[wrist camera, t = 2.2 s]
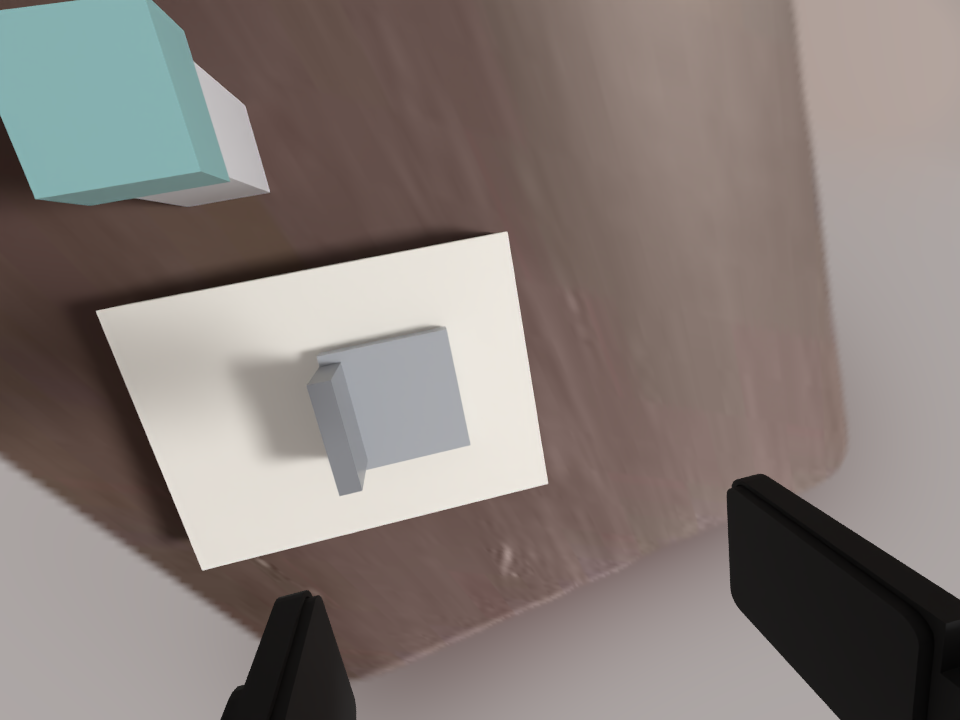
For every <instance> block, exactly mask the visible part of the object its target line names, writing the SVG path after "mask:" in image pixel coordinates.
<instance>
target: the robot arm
mask: <svg viewBox="0 0 960 720" xmlns="http://www.w3.org/2000/svg"><path fill="white" fill-rule="evenodd" d="M727 515H728V538H729V562H730V586H731V587H730V588H731V594H732V597H733V599H734V601H735V603H736V605H737V606H738V608H739V609H740V610H741V611H742V613H744V615H745V616H746V617H747V618H748V619H749V620H750V621H751V622H752V623H753V625H755V627H756V628H757V629H758V630H759V631H760V632H761V633H762V634H763V636H764V637H766V639H767V640H768V641H769V642H770V643H771V644H772V645H773V646H774V647H775V649H776V650H777V651H778V652H779V653H780V654H781V655H782V656H783V657H784V658H785V660H786V661H787V662H788V663H789V664H790V665H791V666H792V667H793V668H794V669H795V670H796V672H797V673H798V674H799V675H800V676H801V677H802V678H803V679H804V680H805V681H806V683H807V684H808V685H809V686H810V687H811V688H812V689H813V690H814V691H815V692H816V694H817V695H818V696H819V697H820V698H821V699H822V700H823V701H824V702H825V703H826V704H827V706H829V708H830V709H831V710H832V711H833V712H834V713H835V714H836V715H837V717H838V718H839V719H840V720H960V600H959V599H958V598H956V597H955V596H953V595H952V594H950V593H948V592H947V591H945V590H944V589H942V588H941V587H939V586H938V585H936V584H934V583H933V582H931V581H930V580H928V579H927V578H925V577H924V576H922V575H920V574H919V573H917V572H916V571H914V570H913V569H911V568H909V567H908V566H906V565H905V564H903V563H902V562H900V561H899V560H897V559H896V558H894V557H892V556H891V555H889V554H888V553H886V552H885V551H883V550H881V549H880V548H878V547H877V546H875V545H874V544H872V543H871V542H869V541H867V540H866V539H864V538H863V537H861V536H860V535H858V534H857V533H855V532H853V531H852V530H850V529H849V528H847V527H846V526H844V525H842V524H841V523H839V522H838V521H836V520H835V519H833V518H831V517H830V516H829V515H827V514H825V513H824V512H822V511H821V510H819V509H818V508H816V507H814V506H813V505H811V504H810V503H808V502H807V501H805V500H804V499H802V498H800V497H799V496H797V495H796V494H794V493H793V492H791V491H790V490H788V489H786V488H785V487H783V486H782V485H780V484H779V483H777V482H776V481H774V480H772V479H771V478H769V477H768V476H766V475H764V474H756V475H752V476H749V477H745V478H741V479H737V480H735V481H734V482H733V484H732V488H731V489H729V490H728V491H727ZM221 720H356V704H355V698H354V695H353V692H352V689H351V686H350V682H349V679H348V676H347V673H346V670H345V667H344V664H343V661H342V658H341V655H340V652H339V649H338V646H337V643H336V640H335V637H334V634H333V631H332V628H331V624H330V621H329V618H328V615H327V612H326V609H325V606H324V603H323V600H322V598H321V597H320V596H319V595H318V596H314V597H312V594H311V593H310V591H308V590H306V591H302V592H298V593H294V594H290V595H286V596H282V597H279V598H278V599H276V601H275V603H274V606H273V609H272V611H271V614H270V617H269V620H268V622H267V625H266V628H265V630H264V633H263V636H262V639H261V641H260V644H259V647H258V650H257V652H256V655H255V658H254V661H253V663H252V666H251V669H250V671H249V674H248V677H247V680H246V682H245V685H241V686H238V687H237V688H236V689H235V690H234V691H233V692H232V694H231V696H230V698H229V700H228V702H227V705H226V707H225V710H224V712H223V715H222V717H221Z"/></svg>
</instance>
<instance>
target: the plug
mask: <svg viewBox="0 0 960 720" xmlns="http://www.w3.org/2000/svg"><path fill="white" fill-rule="evenodd" d="M0 116H1V118H2V120H3V123H4V125H5V127H6V130H7V132H8V135H9V137H10V139H11V142H12V144H13V147H14V149H15V151H16V154H17V156H18V159H19V161H20V163H21V166H22V168H23V170H24V173H25V175H26V178H27V180H28V182H29V185H30V187H31V190H32V192H33V194H34V197H35V199H38V200H47V201H55V202H63V203H72V204H80V205H88V206H91V205H97V204H103V203H109V202H115V201H121V200H127V199H132V198H137V199H143V200H149V201H155V202H161V203H167V204H173V205H179V206H185V207H191V206H197V205H202V204H208V203H214V202H219V201H225V200H231V199H237V198H242V197H248V196H254V195H260V194H265V193H270V190H269V187H268V183H267V180H266V176H265V173H264V169H263V166H262V162H261V159H260V155H259V152H258V148H257V145H256V141H255V138H254V135H253V131H252V128H251V124H250V121H249V117H248V114H247V110H246V107H245V105H244V104H243V103H241V102H240V101H239V100H238V99H237V98H236V97H234V96H233V95H232V94H231V93H230V92H229V91H227V90H226V89H225V88H224V87H223V86H222V85H220V84H219V83H218V82H217V81H216V80H215V79H213V78H212V77H211V76H210V75H209V74H208V73H206V72H205V71H204V70H203V69H202V68H201V67H199V66H198V65H197V64H196V63H195V62H194V61H193V59H192V56H191V52H190V49H189V46H188V43H187V39H186V36H185V33H184V31H183V30H182V29H181V28H180V27H179V26H178V25H177V24H176V23H175V22H174V21H173V20H172V19H171V18H170V17H169V16H168V15H167V14H166V13H165V12H164V11H162V10H161V9H160V8H159V7H158V6H157V5H156V4H155V3H154V2H153V1H152V0H77V1H69V2H62V3H54V4H46V5H38V6H30V7H23V8H15V9H7V10H0Z"/></svg>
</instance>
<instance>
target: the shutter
mask: <svg viewBox="0 0 960 720" xmlns="http://www.w3.org/2000/svg"><path fill="white" fill-rule="evenodd" d="M317 360H318V364H319V368H318V370H317V371H316V372H315V374H314V375H313V377H312V378H311V379H310V381H309V382H308V384H307V385H306V386H307V390H308V393H309V396H310V400H311V403H312V406H313V410H314V413H315V416H316V420H317V423H318V426H319V430H320V433H321V436H322V440H323V443H324V446H325V450H326V453H327V456H328V460H329V463H330V466H331V470H332V473H333V476H334V480H335V483H336V486H337V490H338V493H339V496H343V495H347V494H351V493H355V492H360V491H362V490H363V484H364V479H365V473H366V470H369V469H373V468H377V467H381V466H385V465H390V464H394V463H398V462H402V461H406V460H411V459H415V458H419V457H423V456H427V455H431V454H436V453H440V452H444V451H448V450H452V449H457V448H461V447H465V446H469V445H470V440H469V435H468V430H467V425H466V420H465V416H464V411H463V406H462V401H461V396H460V391H459V387H458V382H457V377H456V372H455V367H454V363H453V358H452V353H451V348H450V343H449V338H448V334H447V329H446V327H445V326H444V327H440V328H435V329H430V330H425V331H421V332H416V333H411V334H406V335H402V336H397V337H392V338H387V339H383V340H378V341H373V342H369V343H364V344H359V345H354V346H350V347H345V348H340V349H335V350H331V351H326V352H321V353H319V354H318V355H317Z"/></svg>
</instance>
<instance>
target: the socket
mask: <svg viewBox="0 0 960 720" xmlns="http://www.w3.org/2000/svg"><path fill="white" fill-rule="evenodd" d="M96 313H97V316H98V318H99V320H100V323H101V325H102V328H103V330H104V333H105V335H106V338H107V340H108V342H109V345H110V347H111V350H112V352H113V355H114V357H115V359H116V362H117V364H118V367H119V369H120V372H121V374H122V376H123V379H124V381H125V384H126V386H127V389H128V391H129V393H130V396H131V398H132V401H133V403H134V406H135V408H136V410H137V413H138V415H139V418H140V420H141V423H142V425H143V428H144V430H145V432H146V435H147V437H148V440H149V442H150V445H151V447H152V449H153V452H154V454H155V457H156V459H157V462H158V464H159V466H160V469H161V471H162V474H163V476H164V479H165V481H166V483H167V486H168V488H169V491H170V493H171V496H172V498H173V500H174V503H175V505H176V508H177V510H178V513H179V515H180V518H181V520H182V522H183V525H184V527H185V530H186V532H187V535H188V537H189V539H190V542H191V544H192V547H193V549H194V552H195V554H196V556H197V559H198V561H199V564H200V566H201V569H202V570H206V569H210V568H214V567H218V566H222V565H226V564H230V563H234V562H238V561H242V560H246V559H250V558H254V557H258V556H262V555H266V554H270V553H274V552H278V551H282V550H286V549H290V548H294V547H298V546H302V545H306V544H310V543H314V542H318V541H322V540H326V539H330V538H334V537H338V536H342V535H346V534H350V533H354V532H358V531H362V530H366V529H370V528H373V527H377V526H381V525H385V524H389V523H393V522H397V521H401V520H405V519H409V518H413V517H417V516H421V515H425V514H429V513H433V512H437V511H441V510H445V509H449V508H453V507H457V506H461V505H465V504H469V503H473V502H477V501H481V500H485V499H489V498H493V497H497V496H501V495H505V494H509V493H513V492H517V491H521V490H525V489H529V488H533V487H537V486H541V485H545V484H548V480H547V474H546V468H545V462H544V455H543V449H542V443H541V437H540V431H539V424H538V418H537V412H536V406H535V400H534V394H533V387H532V381H531V375H530V369H529V363H528V356H527V350H526V344H525V338H524V332H523V326H522V319H521V313H520V307H519V301H518V295H517V288H516V282H515V276H514V270H513V264H512V258H511V251H510V245H509V239H508V233H507V232H500V233H493V234H488V235H483V236H478V237H473V238H467V239H462V240H457V241H452V242H447V243H441V244H436V245H431V246H426V247H421V248H415V249H410V250H405V251H400V252H395V253H389V254H384V255H379V256H374V257H369V258H363V259H358V260H353V261H348V262H343V263H337V264H332V265H327V266H322V267H317V268H311V269H306V270H301V271H296V272H291V273H285V274H280V275H275V276H270V277H265V278H259V279H254V280H249V281H244V282H239V283H233V284H228V285H223V286H218V287H213V288H207V289H202V290H197V291H192V292H187V293H181V294H176V295H171V296H166V297H161V298H155V299H150V300H145V301H140V302H135V303H130V304H125V305H121V306H116V307H111V308H107V309H102V310H98V311H96ZM444 326H445V327H446V329H447V334H448V338H449V343H450V348H451V353H452V358H453V363H454V367H455V372H456V377H457V382H458V387H459V391H460V396H461V401H462V406H463V411H464V416H465V420H466V425H467V430H468V435H469V440H470V445H469V446H465V447H461V448H457V449H452V450H448V451H444V452H440V453H436V454H431V455H427V456H423V457H419V458H415V459H411V460H406V461H402V462H398V463H394V464H390V465H385V466H381V467H377V468H373V469H369V470H366V473H365V479H364V484H363V490H362V491H360V492H355V493H351V494H347V495H343V496H339V493H338V490H337V486H336V483H335V480H334V476H333V473H332V470H331V466H330V463H329V460H328V456H327V453H326V450H325V446H324V443H323V440H322V436H321V433H320V430H319V426H318V423H317V420H316V416H315V413H314V410H313V406H312V403H311V400H310V396H309V393H308V390H307V386H306V385H307V384H308V382H309V381H310V379H311V378H312V377H313V375H314V374H315V372H316V371H317V370H318V368H319V364H318V360H317V355H318V354H319V353H321V352H326V351H331V350H335V349H340V348H345V347H350V346H354V345H359V344H364V343H369V342H373V341H378V340H383V339H387V338H392V337H397V336H402V335H406V334H411V333H416V332H421V331H425V330H430V329H435V328H440V327H444Z"/></svg>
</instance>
